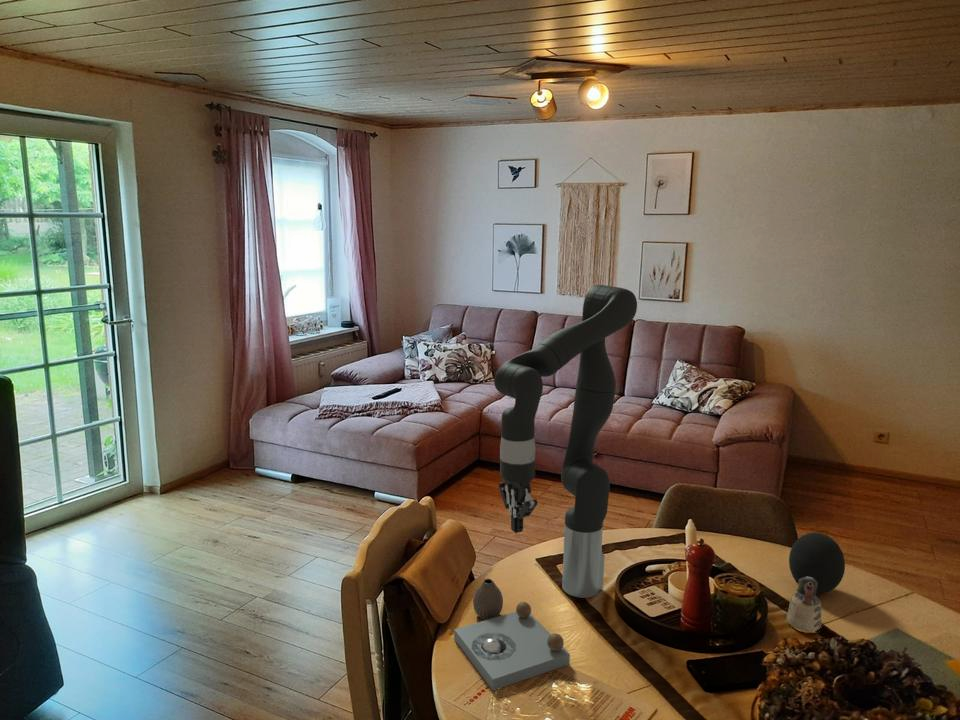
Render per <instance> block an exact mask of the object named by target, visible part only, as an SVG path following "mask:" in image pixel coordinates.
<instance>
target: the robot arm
mask: <svg viewBox="0 0 960 720" xmlns="http://www.w3.org/2000/svg"><path fill="white" fill-rule="evenodd" d="M637 311H638V301H637V297H636V294H635V293H633V291H631V290H630V289H627V288H623V287H618V286H611V285H605V284H594V285H592V286H591V287H590V288H589V289H588V290H587V292H586V294H585V296H584V300H583V304H582V317H581V318H582V319H581V321H580V322H577V323H575V324H572V325H569V326H566V327H564V328H562V329H559V330H557V331H555V332H554V333H552V334H550V335H549V336H547V337H546V338H545V339H544V340H542V341H541V342H540V343H539V344H537V345H536V346H534V348H533V349H530V350H528V351H525V352H523V353H520V354H518V355H516V356H515V357H512V358H510V359H509V360H507V361H505V362H504V363H503V364H501V365H500V367H498V369H497V371H496V372H495V375H494V378H493V384H494V388H495V389H496V390H497V391H498V393H500V394H501V395H503V396H506V397H509V398H514V399H515V401H514V406H512V407H508V408H506V409H504V410H503V411H502V413H501V419H500V421H501V422H500V423H501V426H500V428H501V435H500V437H501V438H500V444H499V445H500V446H499V475H500V478H501V479H502V480H503V481H501V482H498V484H497V486H498V488H499V492H500V494H501V498H502V501H503V505H504V508H505V509H506V510H508V513H509V515H510V529H511V531H512V532H513V533H514V534H518V533H521V532H523V531H524V518H526V517H530V515H531V514H532V513H533V511H534V509H536V507H537V505H538V500H537V499H536V498H535V499H533V497H532V495H531V493H532V489H531V488H532V487H531V482H532V481H533V480H534V479H535V477H536V440H535V419H536V414H537V411H538V408H539V405H540V402H541V401H540V400H541V399H542V395H543V394H542V393H543V389H544V383H543V379H542V378H545V377H546V378H547V377H548V378H549V377H550V376H553V375H555V374H556V373H557V372H558V371H559V370H561V369H562V368H563V367H564V366H565V365H567V364H568V363H569V362H570V361H571V360H573V359H575V358H576V357H577V356H578V355H579V354H580V357H579V365H578V373H577V374H578V375H577V381H576V385H575V394H574V401H573V402H574V403H573V410H572V418H571V423H570V430H569V431H570V432H569V438H568V441H567V446H566V449H565V454H564V458H563V463H562V467H561V475H560V481H561V483H562V485H563V486H562V487H564V489H565V490H566V491H567V492H568V493H570V494H571V495H572V496H574V498H575V499H574V507H571V508H569V509H568V510H566V511H565V514H564V515H565V516H564V536H563V537H564V538H563V561H562V579H561V580H562V582H561V583H562V585H561V586H562V589H563V591H564V592H565V593H566V594H567V595H569V596H571V597H575V598H578V599H579V598H582V599H584V598H585V599H589V598H592V597H595V596H598V594H599V593H600V591H602V589H604V575H605V559H606V558H605V554H604V552H603V551H602V549H603V548H602V547H603V530H604V527H603V526H604V521H605V518H606V517H607V514H608V507H609V500H610V499H609V498H610V488H611V485H610V481H611V480H610V477H609V474H608V472H607V471H606V470H605V469H604V468H603V467H601V466H600V465H598V464H596V463H595V462H594V453H595V452H594V451H595V445H596V444H595V443H596V439H597V437H598V434H599V433H600V432H601V430H602V429H603V427H604V425H605V424H606V423H607V421H608V420H609V418H610V416H611V414H612V413H613V410H614V409H613V407H614V403H615V397H616V389H617V382H616V376H615V372H614V370H613V369H614V368H613V367H612V364H611V361H610V358H609V355H608V353H607V348H606V338H607V337H609V336H611V335H612V334H615V333H616V332H618V331H620V330H622V329H624V328H626V326H628V325H629V324H630V323H632V321H633V320H634V317H636V316H635V315H636V313H637Z"/></svg>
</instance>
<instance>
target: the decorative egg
mask: <svg viewBox="0 0 960 720" xmlns="http://www.w3.org/2000/svg"><path fill="white" fill-rule="evenodd" d="M788 565H789V566H788V567H789V571H790V574H791V575H792V576H791V577H792V578H793V579H794V581H795V582H796V584H797V585H798V584H799V579H801V578H804V577H812V578H814V579H815V580H816V581H817V583H818V586H817V590H816V595H824V594H827V593H830V592H831V591H833V590H834V589H836V588H837V587H838V586H839V585H840V583H841V582H842V580H843V578H844V575H845V570H846V562H845V556H844V553H843V551H842V549H841V547H840V545H839V544H838V543H837V542H836V540H834V539H833V538H832V537H831V536H829V535H828V534H825V533H821V532H808V533H805V534H803V535H801V536H800V537H799V538H797V540H796V541H794V543H793V545H792V547H791V549H790V551H789V557H788Z"/></svg>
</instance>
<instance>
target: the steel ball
mask: <svg viewBox="0 0 960 720" xmlns="http://www.w3.org/2000/svg"><path fill="white" fill-rule="evenodd" d="M482 649H483V651H484V652H486V653H489V654H500V653H502V651H501V645H500V643H499V641H498V640H497V639H495V638H488V639H486V640H485V641H484V642H483V645H482Z"/></svg>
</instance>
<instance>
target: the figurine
mask: <svg viewBox="0 0 960 720" xmlns="http://www.w3.org/2000/svg"><path fill="white" fill-rule="evenodd" d="M817 586H818V583H817V581H816V580H815V579H814V578H812V577H804V578H801V579H799V584H798V583H797V589H796V592H795V593H793V594H791V597H790V601H789V604H788V609H787V613H786V622H787V621H788V623H789V624H791V625H792V626H793V627H795V628H797V629H801V630H805V631H817V630H819V629H820V628H821V629H822V608H823V606H822V603H821V600H820V599H819V597H817V594H816V590H817ZM788 623H787V624H788ZM789 624H788V625H789Z"/></svg>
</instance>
